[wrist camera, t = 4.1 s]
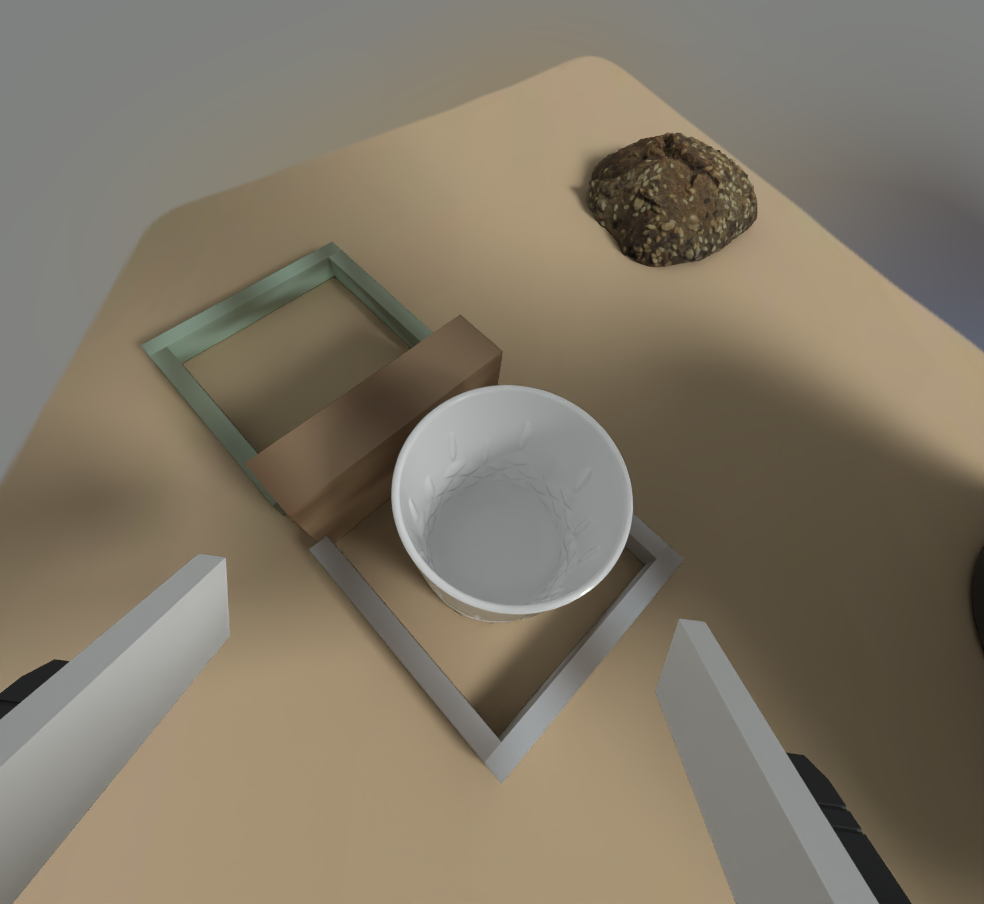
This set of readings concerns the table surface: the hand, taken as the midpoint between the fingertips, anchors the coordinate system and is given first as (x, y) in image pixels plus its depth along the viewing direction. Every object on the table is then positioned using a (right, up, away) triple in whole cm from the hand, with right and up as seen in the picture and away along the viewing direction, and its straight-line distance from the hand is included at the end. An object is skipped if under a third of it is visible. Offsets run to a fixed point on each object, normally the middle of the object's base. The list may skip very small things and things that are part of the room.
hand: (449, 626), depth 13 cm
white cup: (+1, 0, +11) cm, 11 cm away
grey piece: (-4, +5, +12) cm, 14 cm away
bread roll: (+15, +25, +24) cm, 38 cm away
